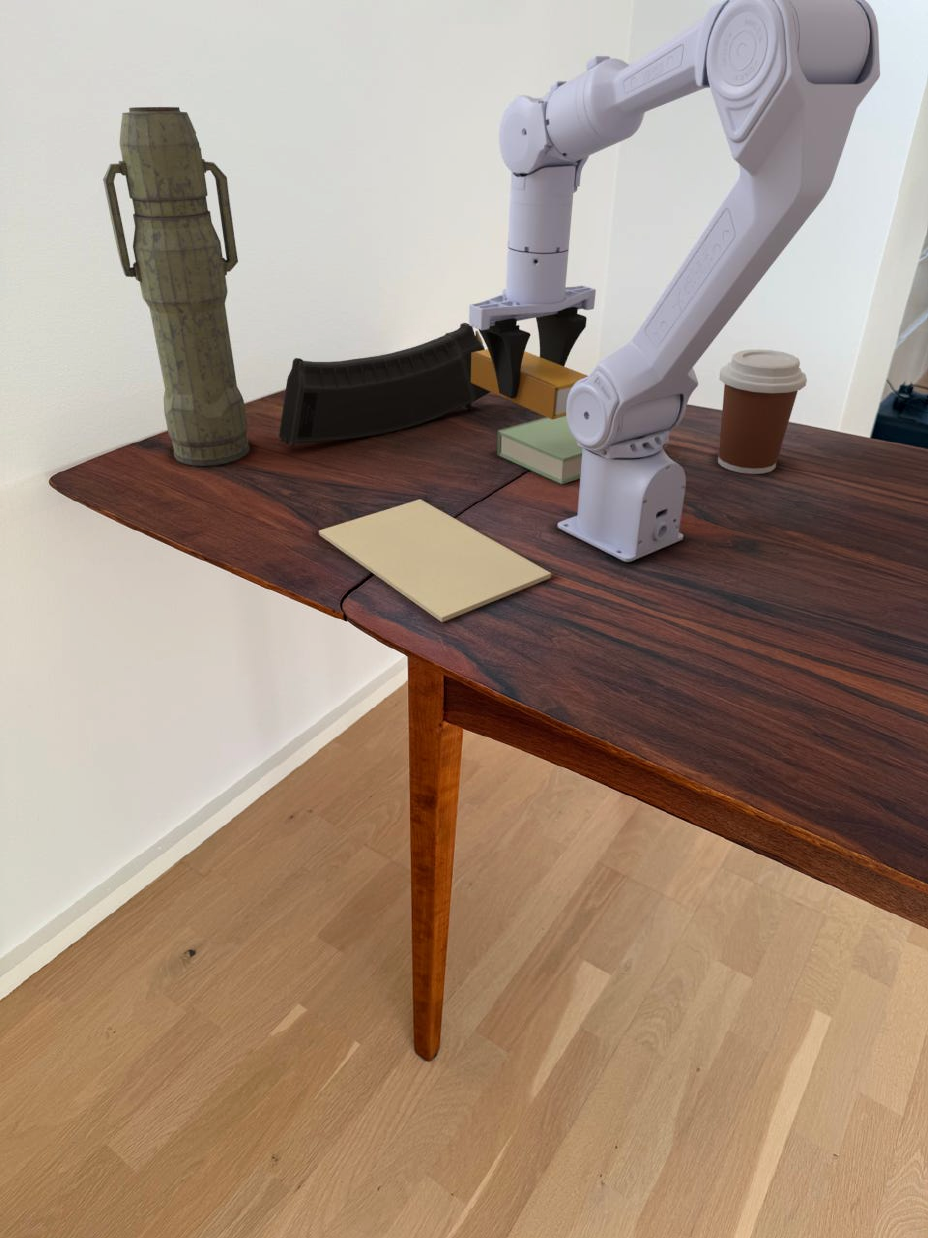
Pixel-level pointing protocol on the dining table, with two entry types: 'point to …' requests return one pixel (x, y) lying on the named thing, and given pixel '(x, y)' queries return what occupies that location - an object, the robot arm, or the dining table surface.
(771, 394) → the coffee cup (beverage)
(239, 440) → the green canister
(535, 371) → the pocket book
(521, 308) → the robot arm
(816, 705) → the dining table surface
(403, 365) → the magazine
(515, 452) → the hardback
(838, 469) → the dining table surface
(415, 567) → the mat
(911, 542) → the dining table surface
